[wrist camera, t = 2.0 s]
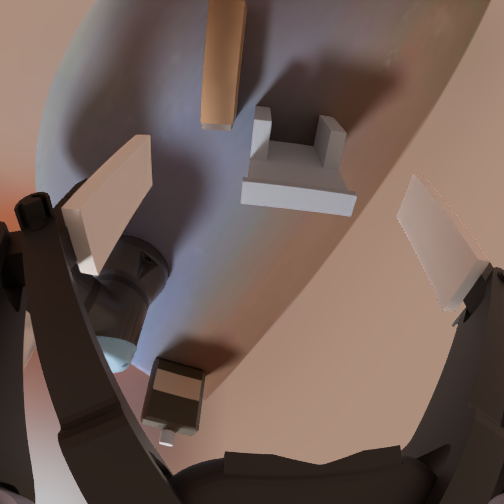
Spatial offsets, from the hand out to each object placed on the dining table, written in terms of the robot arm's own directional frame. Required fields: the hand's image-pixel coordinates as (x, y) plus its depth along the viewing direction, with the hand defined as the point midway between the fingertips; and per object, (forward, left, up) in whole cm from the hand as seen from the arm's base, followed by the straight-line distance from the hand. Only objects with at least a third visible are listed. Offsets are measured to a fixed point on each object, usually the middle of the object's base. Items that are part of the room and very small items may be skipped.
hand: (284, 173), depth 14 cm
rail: (-6, +3, -29) cm, 30 cm away
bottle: (-17, -78, -29) cm, 85 cm away
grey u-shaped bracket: (+4, -7, -29) cm, 30 cm away
